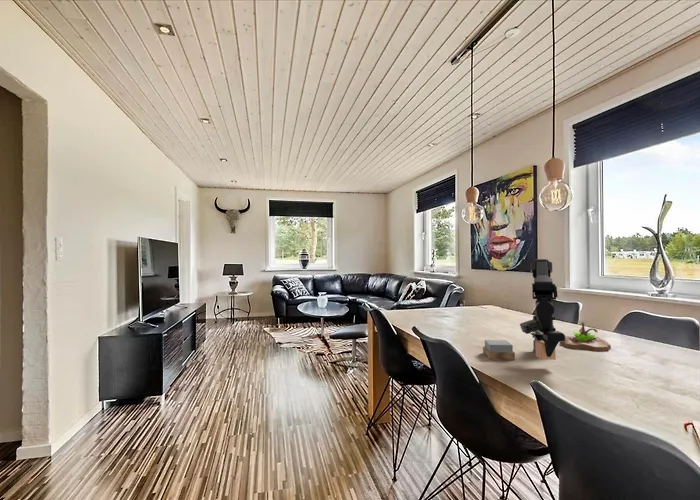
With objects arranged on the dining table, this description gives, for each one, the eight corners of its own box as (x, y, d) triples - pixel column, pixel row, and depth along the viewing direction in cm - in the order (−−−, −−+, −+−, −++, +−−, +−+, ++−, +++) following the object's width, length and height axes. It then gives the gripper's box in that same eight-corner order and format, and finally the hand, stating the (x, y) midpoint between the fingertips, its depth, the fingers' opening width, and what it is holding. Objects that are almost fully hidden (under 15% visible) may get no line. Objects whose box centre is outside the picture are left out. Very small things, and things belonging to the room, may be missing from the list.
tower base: (506, 354, 156) (506, 346, 156) (515, 361, 146) (514, 352, 146) (483, 354, 157) (482, 346, 157) (489, 360, 147) (489, 352, 147)
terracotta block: (549, 355, 137) (548, 340, 137) (555, 359, 132) (555, 343, 132) (535, 355, 137) (535, 340, 137) (541, 359, 132) (541, 343, 132)
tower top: (506, 347, 155) (506, 340, 155) (512, 352, 146) (512, 345, 146) (484, 346, 156) (484, 339, 156) (489, 351, 147) (489, 344, 147)
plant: (608, 344, 170) (607, 320, 171) (612, 353, 154) (611, 328, 154) (560, 339, 181) (559, 317, 181) (559, 348, 165) (558, 323, 165)
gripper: (512, 310, 145) (513, 348, 144) (533, 317, 126) (534, 361, 126) (541, 310, 144) (542, 348, 143) (565, 317, 125) (567, 362, 125)
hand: (545, 354), depth 134 cm, fingers closed on terracotta block, 5 cm apart
